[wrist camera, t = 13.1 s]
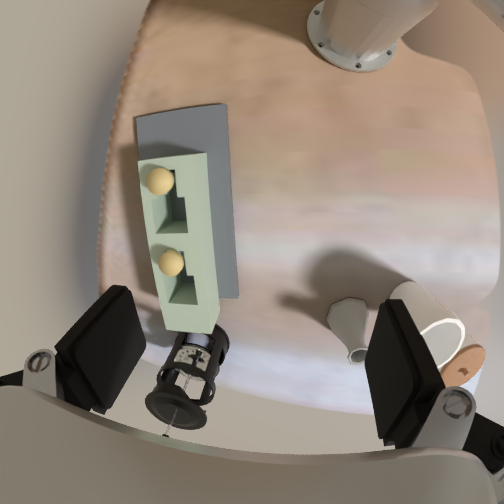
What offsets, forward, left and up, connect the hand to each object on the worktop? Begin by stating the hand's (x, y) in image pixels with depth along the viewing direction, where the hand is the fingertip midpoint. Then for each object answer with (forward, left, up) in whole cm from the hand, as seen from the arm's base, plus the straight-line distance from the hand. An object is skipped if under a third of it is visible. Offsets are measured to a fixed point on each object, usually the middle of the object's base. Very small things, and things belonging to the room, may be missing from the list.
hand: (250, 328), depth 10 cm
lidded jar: (+29, +35, -30) cm, 54 cm away
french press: (+26, -14, -30) cm, 42 cm away
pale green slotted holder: (+6, -12, -28) cm, 31 cm away
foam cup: (+17, +21, -30) cm, 40 cm away
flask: (+20, +11, -30) cm, 37 cm away
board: (+2, -13, -29) cm, 32 cm away
